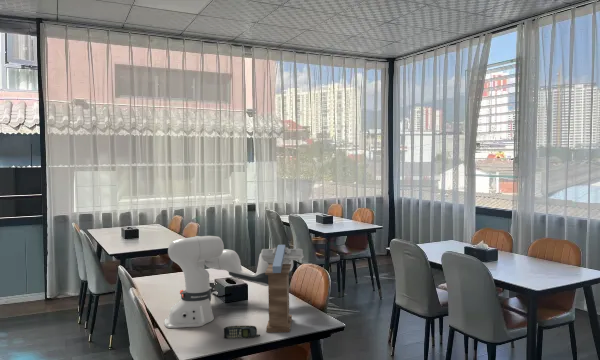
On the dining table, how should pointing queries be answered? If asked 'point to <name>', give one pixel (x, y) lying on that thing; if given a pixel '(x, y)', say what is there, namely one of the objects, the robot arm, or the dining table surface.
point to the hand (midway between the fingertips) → (281, 249)
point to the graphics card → (213, 289)
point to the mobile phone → (240, 332)
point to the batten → (278, 259)
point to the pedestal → (278, 299)
